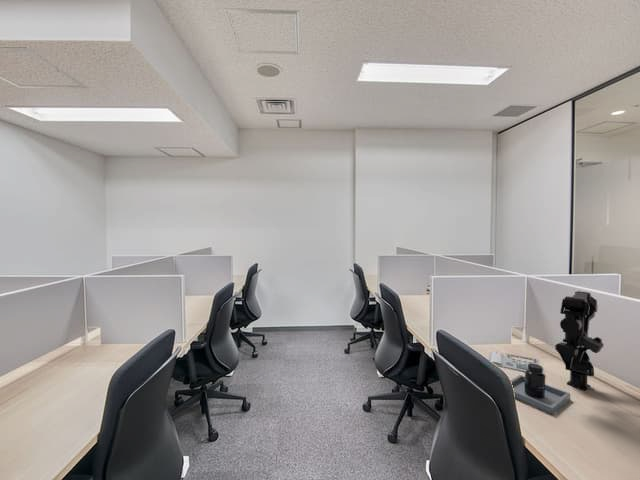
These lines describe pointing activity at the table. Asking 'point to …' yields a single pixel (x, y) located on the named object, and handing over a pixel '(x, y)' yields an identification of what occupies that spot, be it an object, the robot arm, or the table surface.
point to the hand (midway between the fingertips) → (573, 365)
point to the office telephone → (511, 361)
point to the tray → (547, 404)
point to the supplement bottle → (535, 381)
